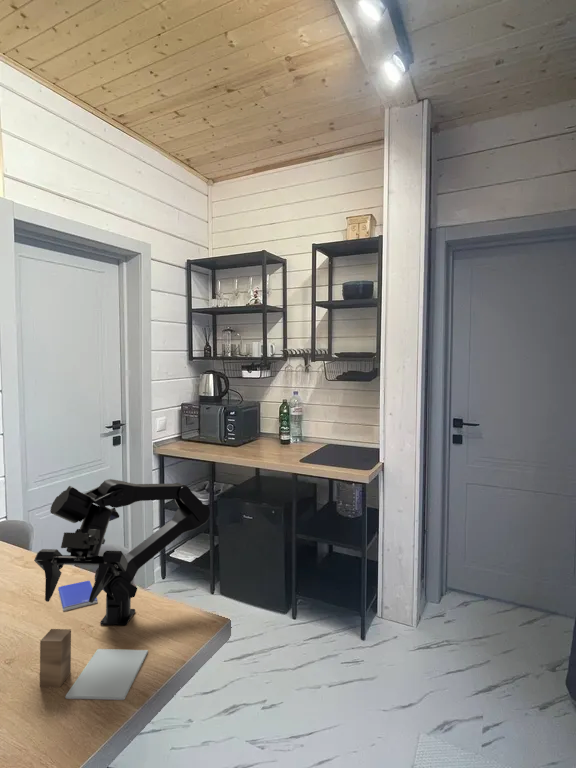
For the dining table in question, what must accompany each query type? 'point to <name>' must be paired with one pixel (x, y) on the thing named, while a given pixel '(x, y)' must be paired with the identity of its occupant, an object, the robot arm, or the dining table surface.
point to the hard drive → (76, 595)
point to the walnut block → (55, 657)
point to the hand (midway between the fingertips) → (68, 601)
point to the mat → (108, 675)
